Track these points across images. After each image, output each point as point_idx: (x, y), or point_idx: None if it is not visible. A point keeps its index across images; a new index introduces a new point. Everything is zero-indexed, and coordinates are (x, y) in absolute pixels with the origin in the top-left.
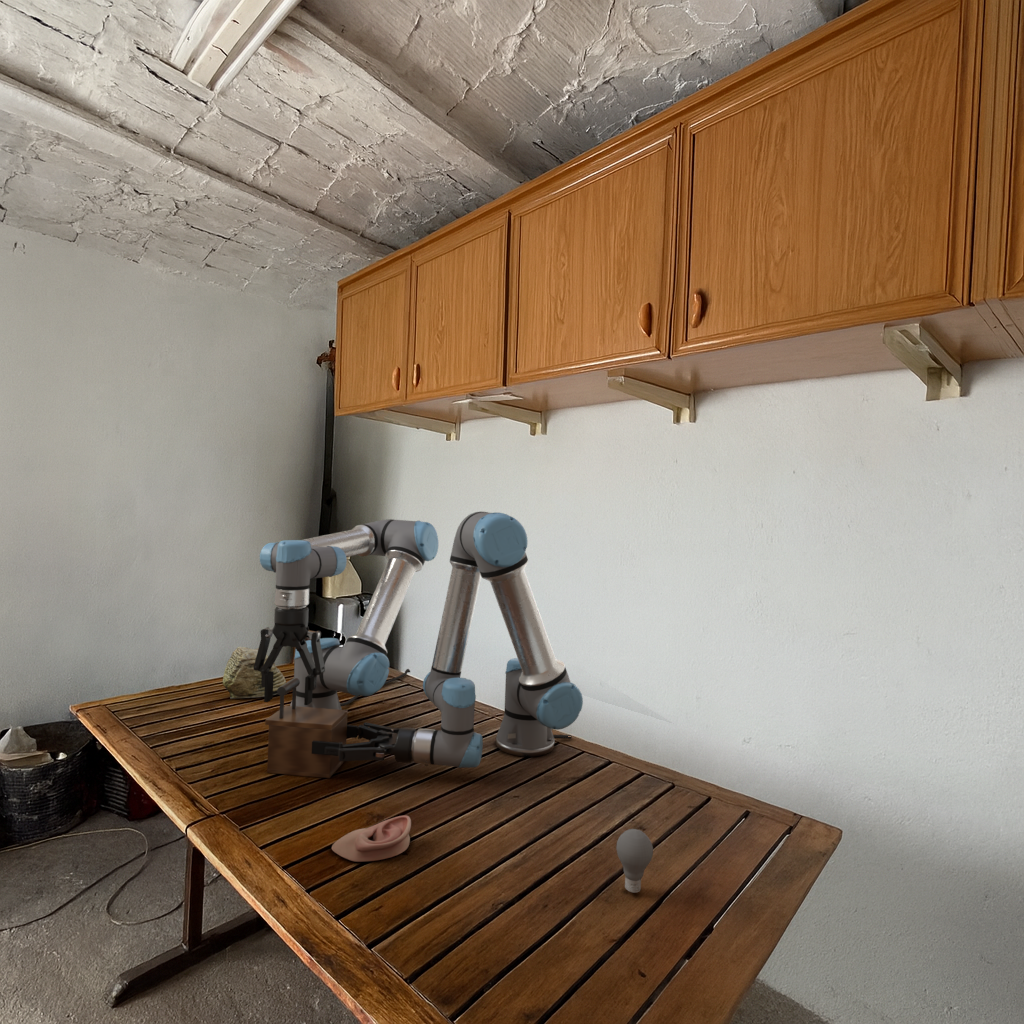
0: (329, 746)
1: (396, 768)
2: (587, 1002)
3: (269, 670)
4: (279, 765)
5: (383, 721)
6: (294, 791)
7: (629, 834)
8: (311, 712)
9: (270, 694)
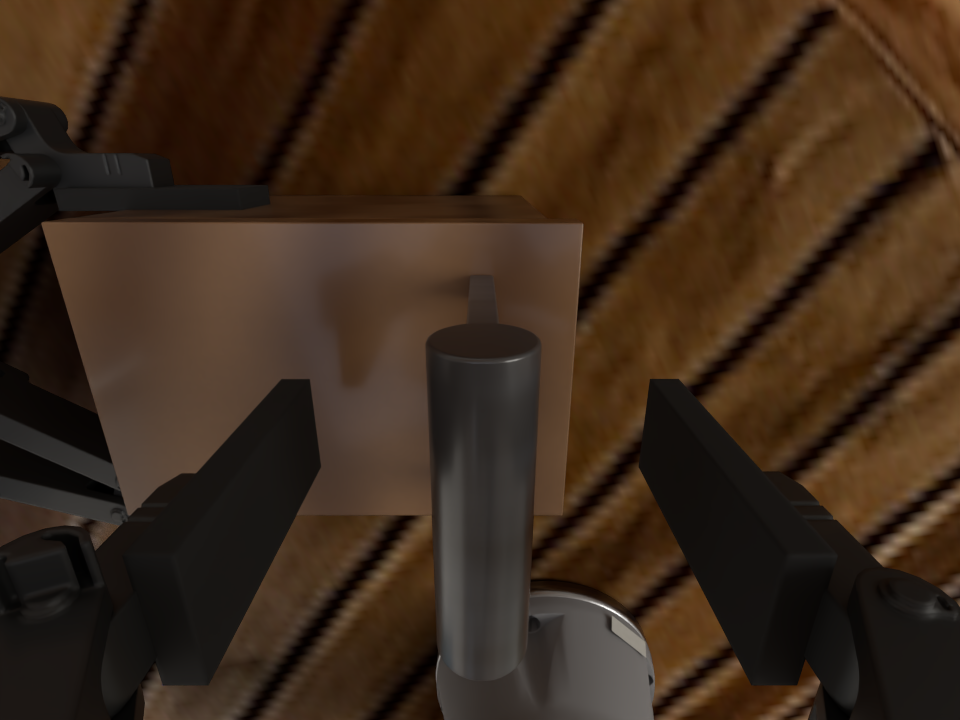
0: (131, 183)
1: (21, 344)
2: None
3: (818, 678)
4: (463, 198)
5: (302, 706)
6: (309, 25)
7: None
8: (330, 432)
9: (659, 456)
